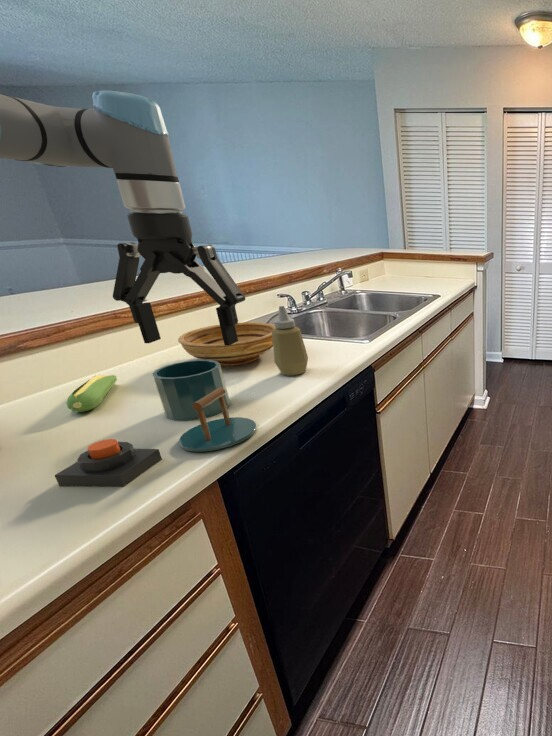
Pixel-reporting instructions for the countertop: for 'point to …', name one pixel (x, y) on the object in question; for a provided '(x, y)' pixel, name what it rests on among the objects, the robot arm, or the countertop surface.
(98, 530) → the countertop surface
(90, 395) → the edible corn
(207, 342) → the wooden bowl
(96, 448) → the button
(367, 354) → the countertop surface
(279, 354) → the squeeze bottle
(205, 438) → the lid
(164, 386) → the jar
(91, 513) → the countertop surface
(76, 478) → the block
